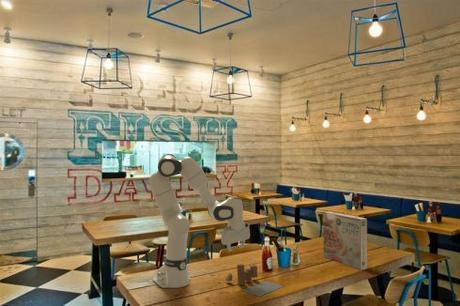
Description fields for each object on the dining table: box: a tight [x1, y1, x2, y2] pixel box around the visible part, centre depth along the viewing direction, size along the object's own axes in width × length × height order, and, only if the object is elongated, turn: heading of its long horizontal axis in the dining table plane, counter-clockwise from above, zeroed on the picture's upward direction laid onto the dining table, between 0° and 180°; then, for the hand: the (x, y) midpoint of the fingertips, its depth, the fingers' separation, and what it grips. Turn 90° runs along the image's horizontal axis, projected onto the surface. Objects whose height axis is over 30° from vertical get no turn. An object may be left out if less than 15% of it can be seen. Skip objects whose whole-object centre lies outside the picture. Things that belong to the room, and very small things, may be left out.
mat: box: [241, 280, 284, 297], centre depth 191 cm, size 12×20×1 cm, turn 135°
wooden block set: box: [225, 263, 259, 286], centre depth 201 cm, size 18×9×10 cm, turn 114°
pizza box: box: [323, 211, 368, 271], centre depth 233 cm, size 32×5×32 cm, turn 28°
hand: (236, 249), depth 206 cm, fingers open, 8 cm apart
